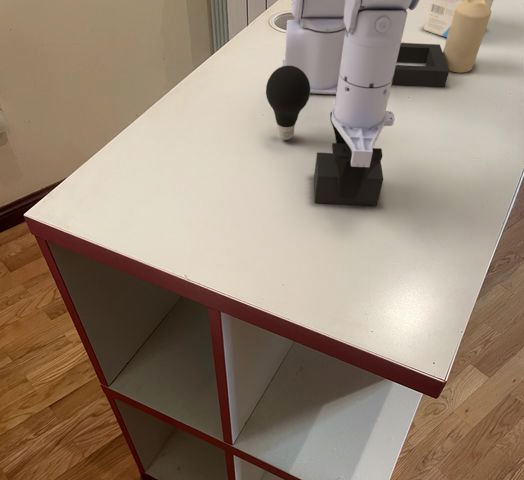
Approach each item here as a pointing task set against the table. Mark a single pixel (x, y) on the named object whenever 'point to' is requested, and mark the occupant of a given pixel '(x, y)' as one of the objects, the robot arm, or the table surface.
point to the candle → (466, 34)
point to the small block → (328, 183)
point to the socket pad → (421, 75)
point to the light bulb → (287, 97)
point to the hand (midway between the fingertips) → (346, 183)
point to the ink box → (442, 16)
